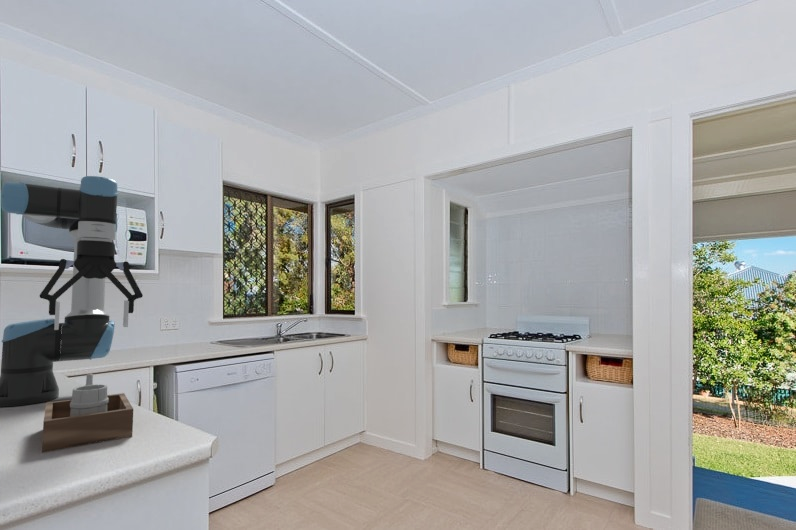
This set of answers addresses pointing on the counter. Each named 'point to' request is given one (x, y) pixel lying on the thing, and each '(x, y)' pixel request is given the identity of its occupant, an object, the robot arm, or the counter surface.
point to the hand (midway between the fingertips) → (92, 328)
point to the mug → (89, 398)
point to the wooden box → (86, 424)
